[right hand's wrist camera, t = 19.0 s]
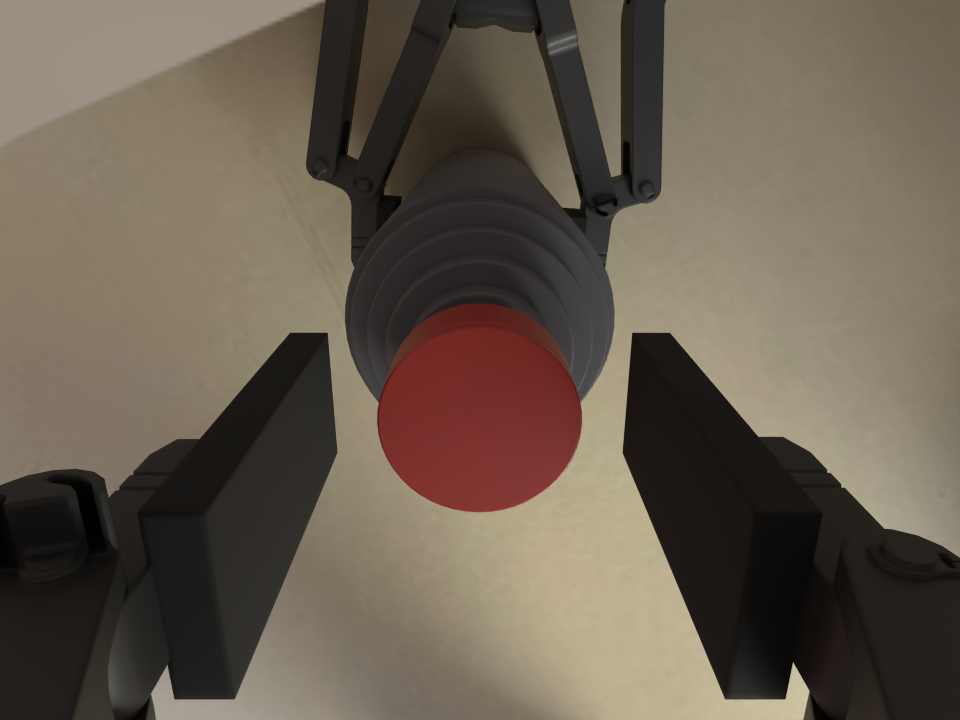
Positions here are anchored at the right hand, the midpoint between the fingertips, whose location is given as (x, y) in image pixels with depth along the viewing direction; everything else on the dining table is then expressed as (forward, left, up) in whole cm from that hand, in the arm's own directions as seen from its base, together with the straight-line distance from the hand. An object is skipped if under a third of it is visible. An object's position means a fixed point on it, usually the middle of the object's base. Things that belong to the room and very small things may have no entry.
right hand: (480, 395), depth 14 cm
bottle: (0, 0, -24) cm, 24 cm away
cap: (0, 0, +1) cm, 1 cm away
